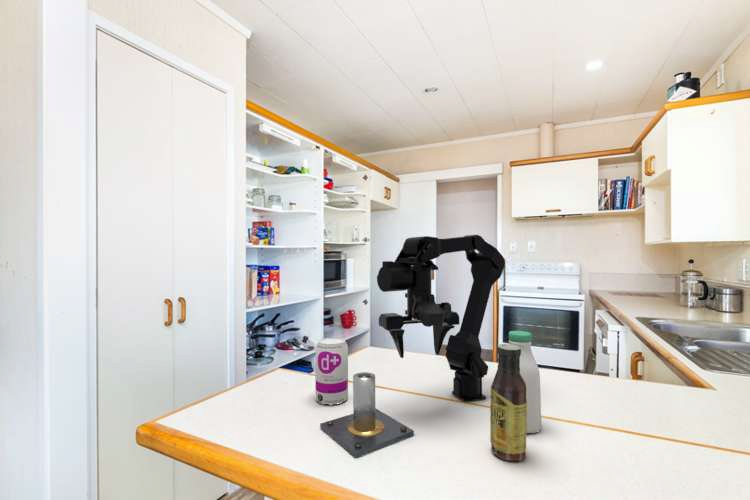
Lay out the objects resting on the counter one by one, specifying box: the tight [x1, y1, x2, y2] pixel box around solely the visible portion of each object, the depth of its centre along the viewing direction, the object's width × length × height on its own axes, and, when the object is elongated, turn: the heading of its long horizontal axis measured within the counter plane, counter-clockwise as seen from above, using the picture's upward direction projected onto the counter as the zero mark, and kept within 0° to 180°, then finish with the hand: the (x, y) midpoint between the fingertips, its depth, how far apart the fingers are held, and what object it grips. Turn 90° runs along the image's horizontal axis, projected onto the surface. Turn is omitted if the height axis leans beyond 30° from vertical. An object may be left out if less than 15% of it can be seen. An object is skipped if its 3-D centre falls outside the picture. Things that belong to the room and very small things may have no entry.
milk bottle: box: [508, 330, 542, 434], centre depth 76 cm, size 8×8×20 cm
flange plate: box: [319, 407, 415, 459], centre depth 74 cm, size 14×14×1 cm
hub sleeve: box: [352, 371, 376, 432], centre depth 74 cm, size 5×5×11 cm
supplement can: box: [315, 337, 349, 405], centre depth 91 cm, size 8×8×15 cm
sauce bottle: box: [489, 343, 527, 462], centre depth 66 cm, size 6×6×20 cm
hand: (419, 355), depth 84 cm, fingers open, 9 cm apart
